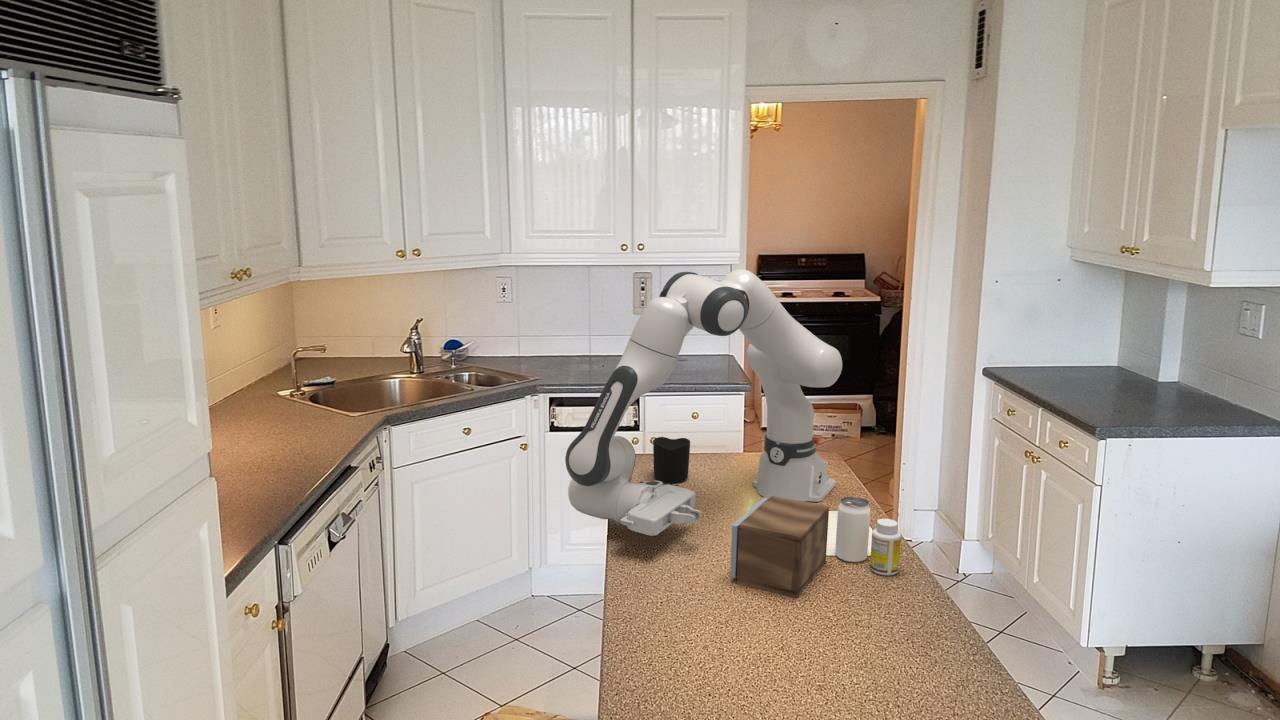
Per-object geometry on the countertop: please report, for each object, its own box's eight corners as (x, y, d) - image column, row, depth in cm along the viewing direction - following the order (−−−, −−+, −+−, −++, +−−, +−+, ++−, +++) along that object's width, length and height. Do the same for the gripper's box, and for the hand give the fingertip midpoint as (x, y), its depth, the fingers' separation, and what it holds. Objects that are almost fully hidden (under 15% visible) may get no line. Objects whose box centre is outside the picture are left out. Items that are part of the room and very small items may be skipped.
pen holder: (671, 470, 239) (671, 433, 237) (696, 479, 232) (697, 441, 230) (644, 477, 233) (645, 440, 231) (670, 487, 226) (671, 449, 224)
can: (843, 547, 191) (847, 493, 189) (872, 556, 187) (876, 501, 185) (829, 557, 186) (832, 501, 184) (858, 566, 182) (862, 509, 180)
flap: (761, 544, 189) (763, 497, 187) (766, 545, 189) (768, 498, 187) (730, 577, 174) (732, 525, 172) (735, 578, 174) (737, 526, 171)
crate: (769, 550, 189) (772, 495, 187) (825, 562, 184) (829, 506, 181) (736, 583, 174) (739, 524, 171) (797, 597, 168) (800, 537, 166)
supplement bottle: (894, 564, 183) (897, 517, 181) (901, 576, 178) (905, 527, 176) (866, 564, 183) (869, 516, 181) (873, 576, 178) (876, 527, 176)
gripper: (614, 506, 184) (675, 519, 177) (659, 478, 201) (717, 488, 195) (613, 535, 185) (675, 549, 179) (658, 504, 203) (716, 516, 196)
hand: (697, 517), depth 187 cm, fingers closed
